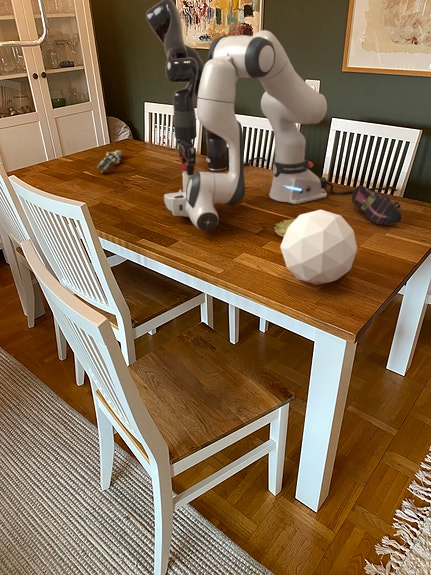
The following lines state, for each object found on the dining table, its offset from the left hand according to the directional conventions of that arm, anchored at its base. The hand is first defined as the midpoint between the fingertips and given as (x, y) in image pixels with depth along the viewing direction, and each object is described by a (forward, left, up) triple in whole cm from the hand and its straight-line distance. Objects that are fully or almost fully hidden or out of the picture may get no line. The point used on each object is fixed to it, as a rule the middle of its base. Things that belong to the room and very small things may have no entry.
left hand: (188, 172), depth 159 cm
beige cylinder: (0, 0, -14) cm, 14 cm away
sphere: (-4, +64, -14) cm, 66 cm away
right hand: (0, -1, -7) cm, 7 cm away
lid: (0, 0, +3) cm, 3 cm away
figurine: (+5, -69, -14) cm, 71 cm away
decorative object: (-20, +40, -14) cm, 47 cm away
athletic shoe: (-51, +45, -14) cm, 69 cm away
